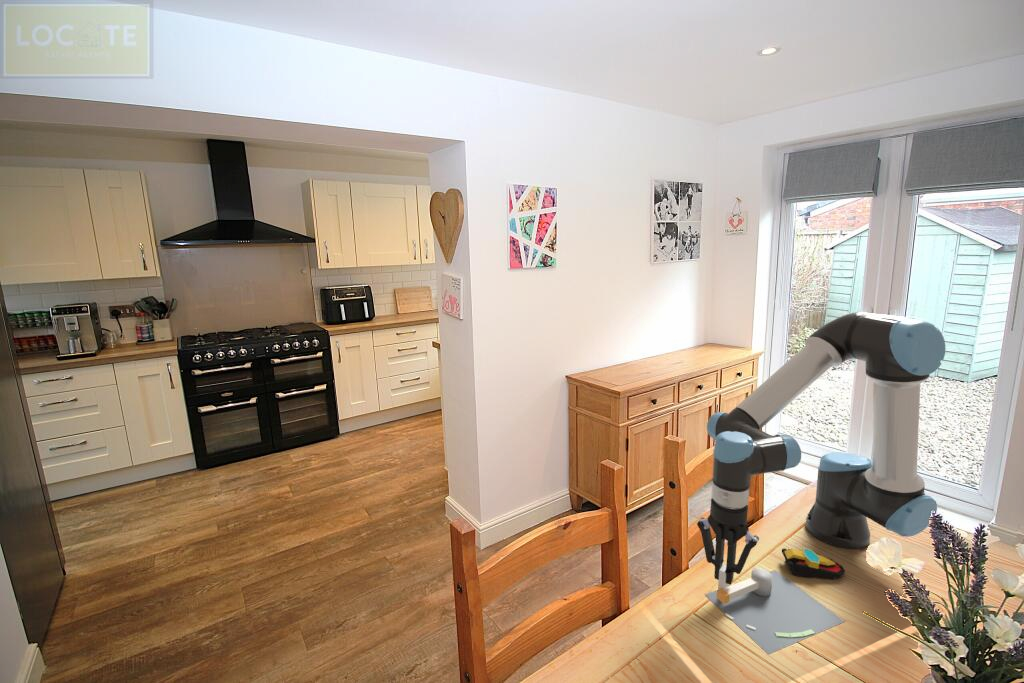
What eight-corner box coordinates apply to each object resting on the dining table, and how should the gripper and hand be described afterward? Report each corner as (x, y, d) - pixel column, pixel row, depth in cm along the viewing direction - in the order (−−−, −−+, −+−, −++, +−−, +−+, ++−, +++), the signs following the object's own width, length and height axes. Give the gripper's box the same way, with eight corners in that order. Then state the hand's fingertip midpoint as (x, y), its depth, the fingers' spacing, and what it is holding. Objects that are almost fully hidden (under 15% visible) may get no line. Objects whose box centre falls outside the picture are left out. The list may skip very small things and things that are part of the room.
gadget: (844, 591, 117) (851, 572, 116) (785, 576, 120) (791, 557, 118) (834, 573, 123) (840, 555, 122) (778, 560, 126) (783, 541, 124)
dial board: (774, 574, 122) (775, 569, 122) (844, 626, 106) (845, 620, 105) (703, 599, 115) (703, 594, 114) (766, 659, 98) (766, 653, 98)
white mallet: (759, 580, 118) (760, 566, 117) (775, 592, 114) (776, 577, 113) (712, 600, 112) (713, 585, 111) (727, 613, 108) (728, 597, 107)
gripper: (693, 498, 109) (688, 589, 114) (756, 519, 101) (748, 615, 106) (705, 485, 114) (700, 572, 120) (765, 503, 106) (757, 595, 112)
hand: (722, 592), depth 113 cm, fingers closed
